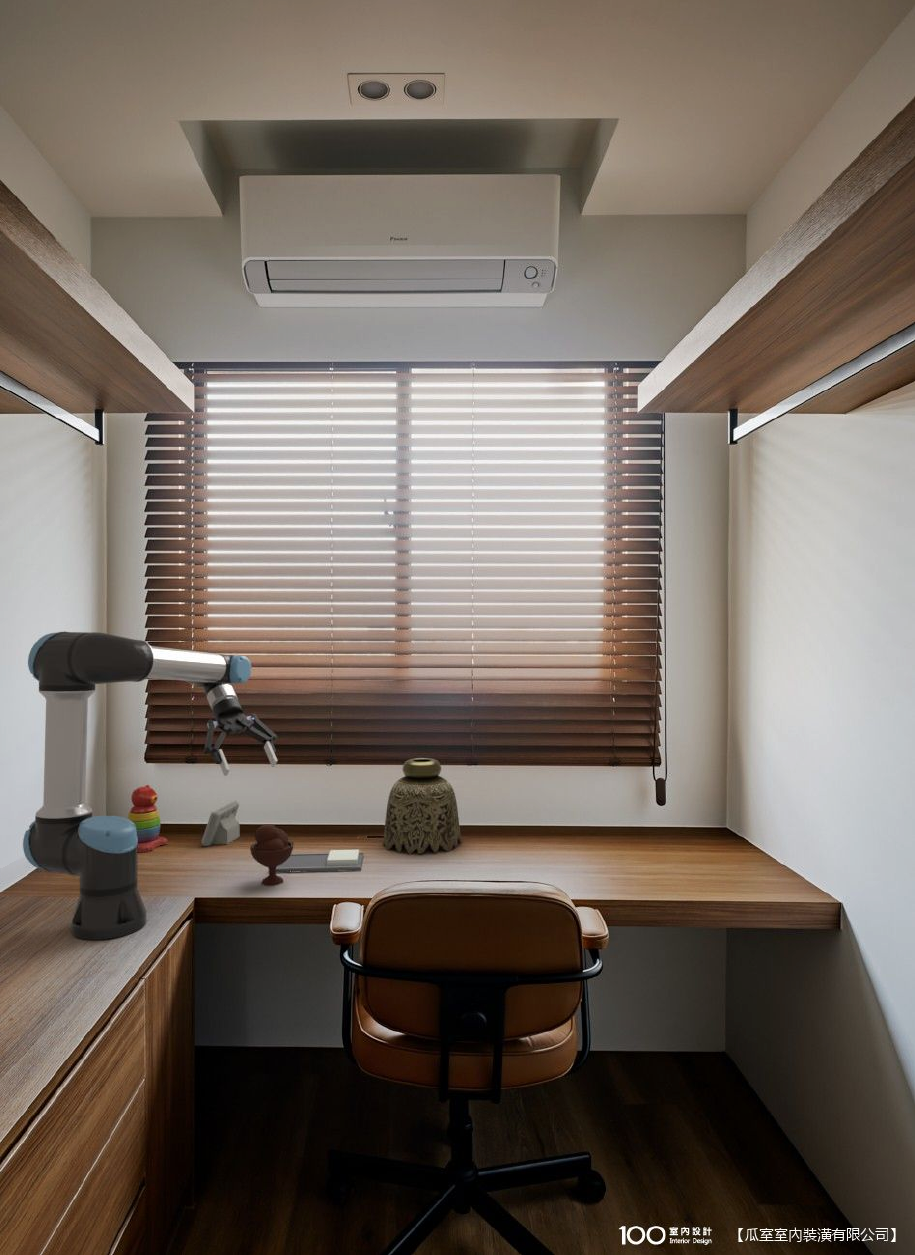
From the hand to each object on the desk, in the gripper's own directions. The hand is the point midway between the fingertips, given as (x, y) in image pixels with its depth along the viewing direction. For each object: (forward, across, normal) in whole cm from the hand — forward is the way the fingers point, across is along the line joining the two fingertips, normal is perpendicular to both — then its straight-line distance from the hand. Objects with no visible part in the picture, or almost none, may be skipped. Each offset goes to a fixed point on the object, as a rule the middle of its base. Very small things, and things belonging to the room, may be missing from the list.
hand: (251, 768), depth 212 cm
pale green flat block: (+27, -22, -13) cm, 37 cm away
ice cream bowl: (+27, 0, -12) cm, 30 cm away
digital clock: (-3, -6, -46) cm, 46 cm away
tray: (+24, -16, -16) cm, 33 cm away
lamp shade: (+27, -50, -16) cm, 59 cm away
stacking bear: (-10, +14, -51) cm, 54 cm away
